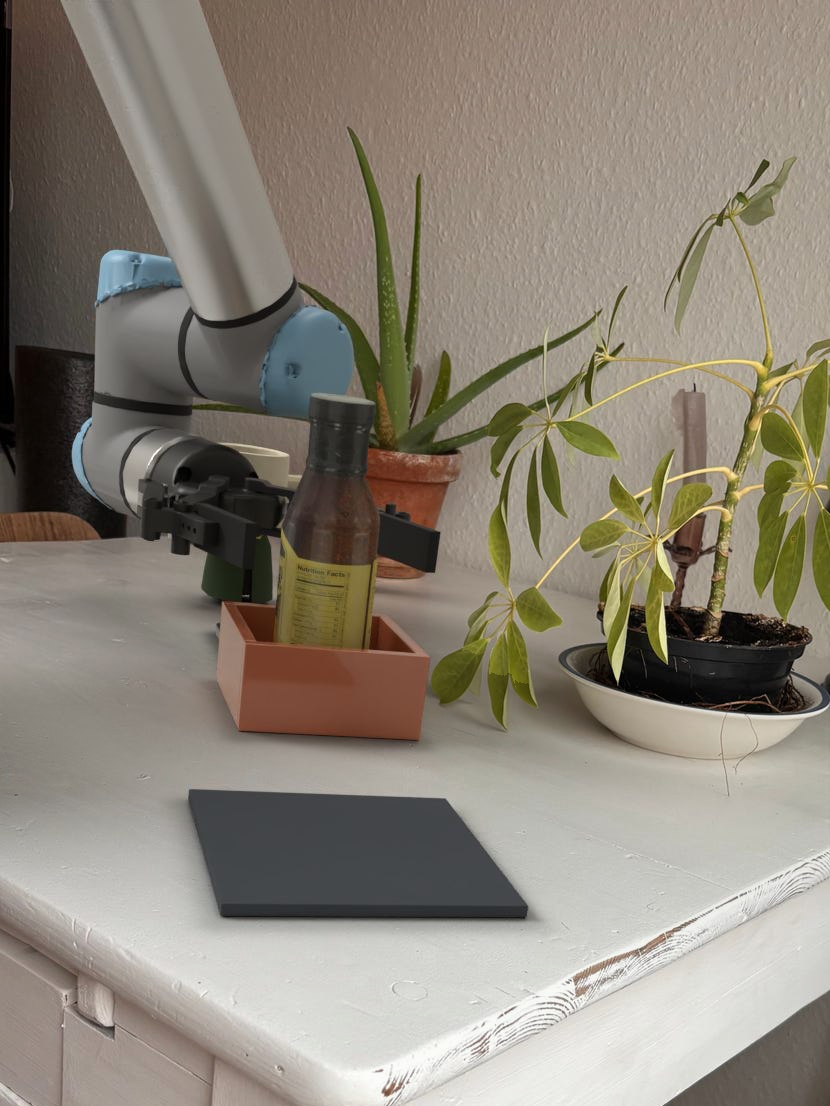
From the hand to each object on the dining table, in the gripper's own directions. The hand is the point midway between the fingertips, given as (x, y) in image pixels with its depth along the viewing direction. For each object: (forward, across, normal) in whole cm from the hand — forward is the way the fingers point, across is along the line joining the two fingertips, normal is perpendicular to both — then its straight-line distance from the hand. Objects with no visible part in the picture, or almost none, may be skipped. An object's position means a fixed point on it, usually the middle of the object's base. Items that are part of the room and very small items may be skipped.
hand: (346, 549), depth 81 cm
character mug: (-32, -10, -11) cm, 35 cm away
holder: (-2, 0, -11) cm, 11 cm away
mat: (+21, +12, -11) cm, 26 cm away
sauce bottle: (-2, 0, -11) cm, 11 cm away
